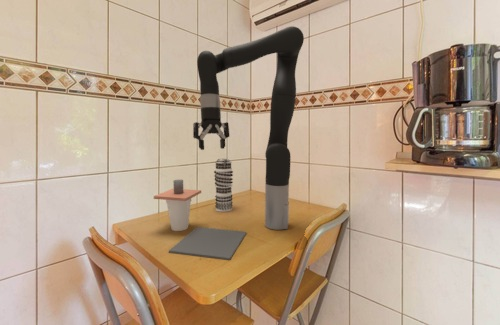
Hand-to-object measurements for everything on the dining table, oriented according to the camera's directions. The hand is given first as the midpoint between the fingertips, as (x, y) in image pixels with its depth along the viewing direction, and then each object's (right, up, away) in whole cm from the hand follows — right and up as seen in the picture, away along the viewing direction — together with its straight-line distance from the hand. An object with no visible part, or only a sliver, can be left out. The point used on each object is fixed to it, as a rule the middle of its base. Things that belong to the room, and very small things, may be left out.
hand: (212, 149), depth 94 cm
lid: (-13, -18, -1) cm, 22 cm away
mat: (+2, -33, -13) cm, 35 cm away
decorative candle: (+2, -29, +24) cm, 38 cm away
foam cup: (-13, -31, 0) cm, 34 cm away
